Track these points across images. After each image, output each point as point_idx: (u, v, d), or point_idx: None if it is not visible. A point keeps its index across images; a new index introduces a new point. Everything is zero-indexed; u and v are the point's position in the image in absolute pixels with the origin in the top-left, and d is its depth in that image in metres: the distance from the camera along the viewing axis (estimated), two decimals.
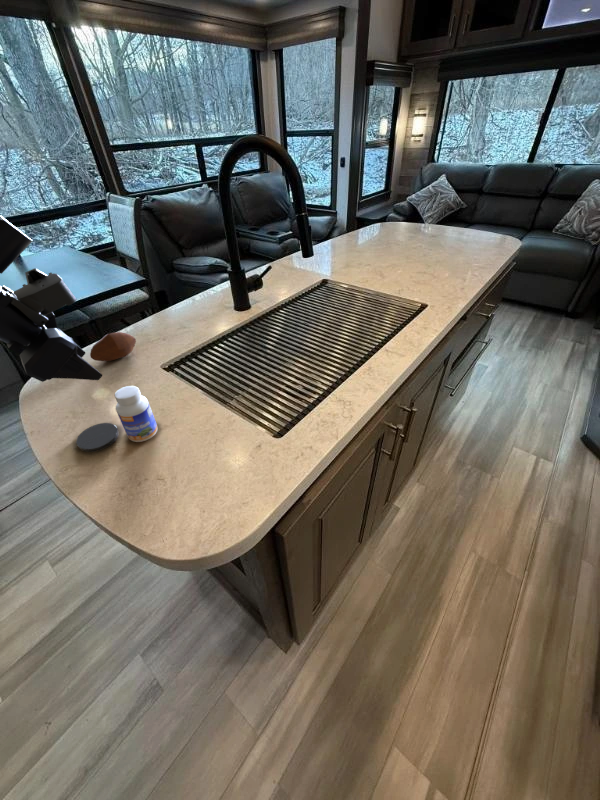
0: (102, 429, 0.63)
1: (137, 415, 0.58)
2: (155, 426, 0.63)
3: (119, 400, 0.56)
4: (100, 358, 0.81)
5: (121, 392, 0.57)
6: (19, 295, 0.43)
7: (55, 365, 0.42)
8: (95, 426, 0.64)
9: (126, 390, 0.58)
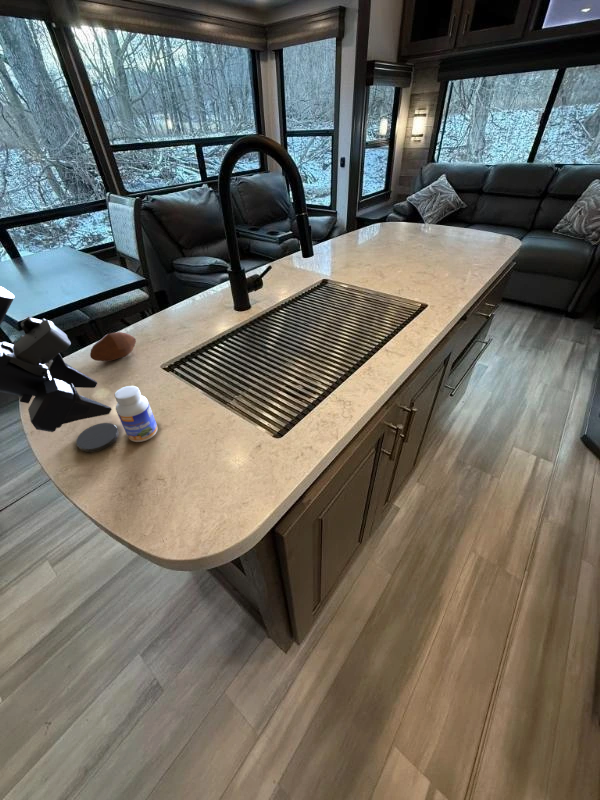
0: (102, 429, 0.63)
1: (137, 415, 0.58)
2: (155, 426, 0.63)
3: (119, 400, 0.56)
4: (100, 358, 0.81)
5: (121, 392, 0.57)
6: (17, 350, 0.44)
7: (59, 416, 0.44)
8: (95, 426, 0.64)
9: (126, 390, 0.58)
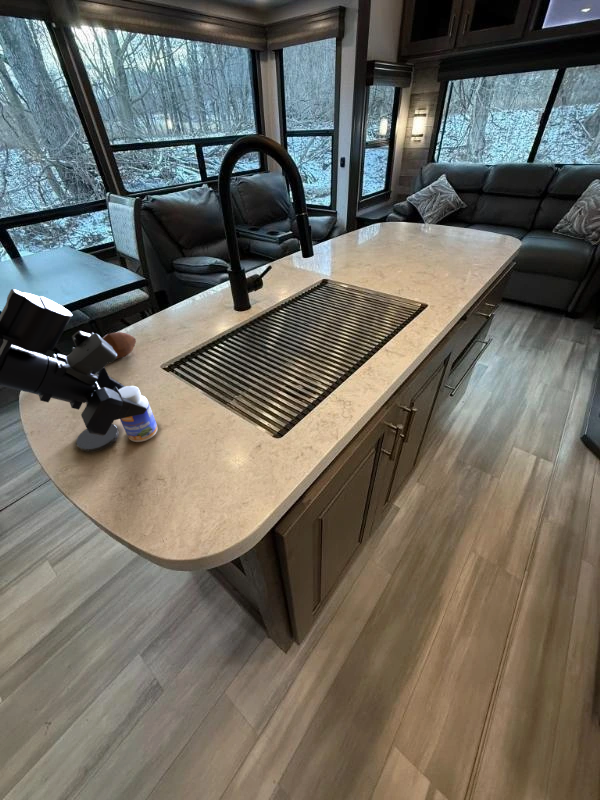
0: None
1: (137, 415, 0.58)
2: (155, 426, 0.63)
3: None
4: None
5: (121, 392, 0.57)
6: (71, 362, 0.49)
7: (110, 421, 0.48)
8: None
9: (126, 390, 0.58)
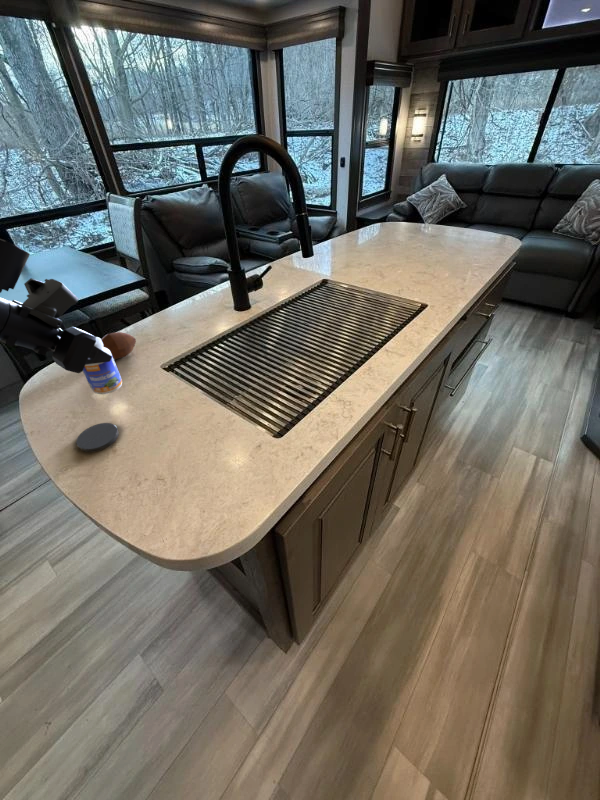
0: (102, 429, 0.63)
1: (103, 363, 0.59)
2: (120, 378, 0.64)
3: None
4: None
5: None
6: (31, 305, 0.49)
7: (85, 357, 0.50)
8: (95, 426, 0.64)
9: None
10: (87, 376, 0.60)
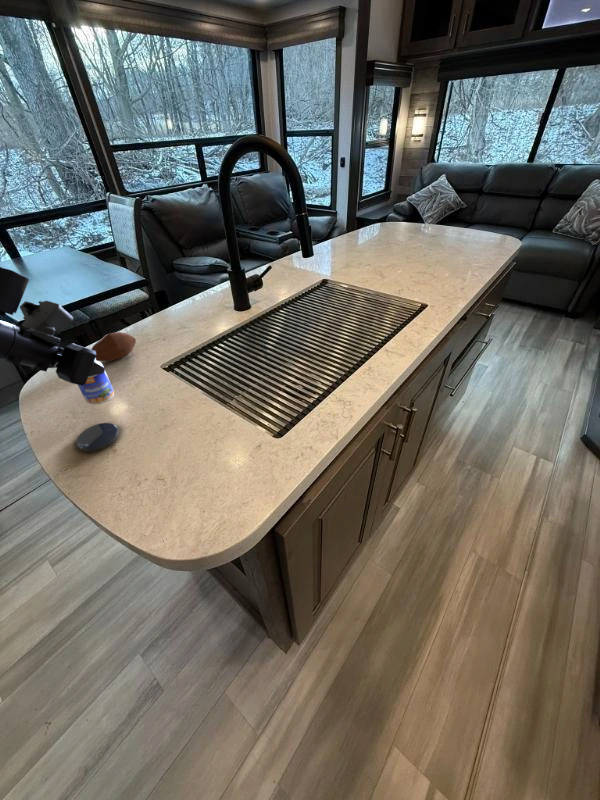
0: (102, 429, 0.63)
1: (97, 375, 0.64)
2: (112, 388, 0.69)
3: None
4: (100, 358, 0.81)
5: None
6: (31, 326, 0.53)
7: (88, 370, 0.55)
8: (95, 426, 0.64)
9: None
10: (82, 388, 0.64)
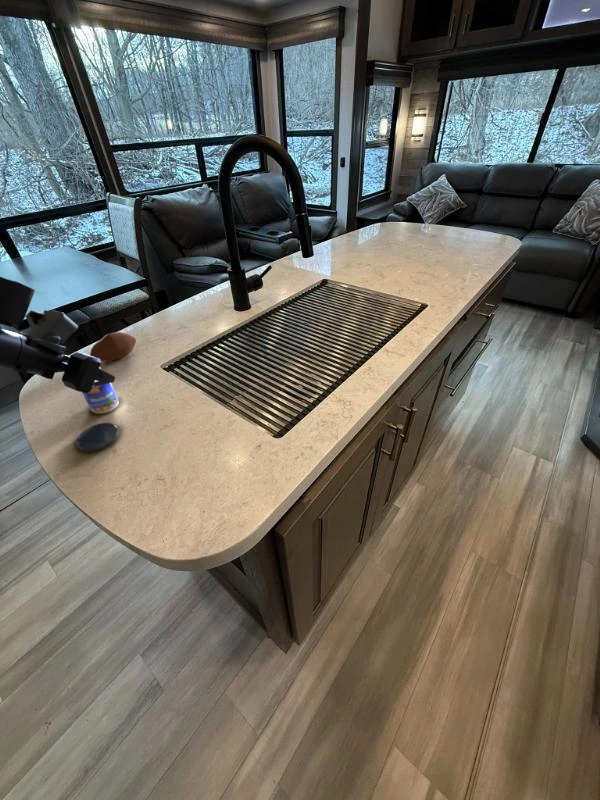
0: (102, 429, 0.63)
1: (102, 385, 0.65)
2: (116, 396, 0.70)
3: None
4: (100, 358, 0.81)
5: None
6: (37, 335, 0.55)
7: (93, 378, 0.56)
8: (95, 426, 0.64)
9: None
10: (87, 398, 0.66)
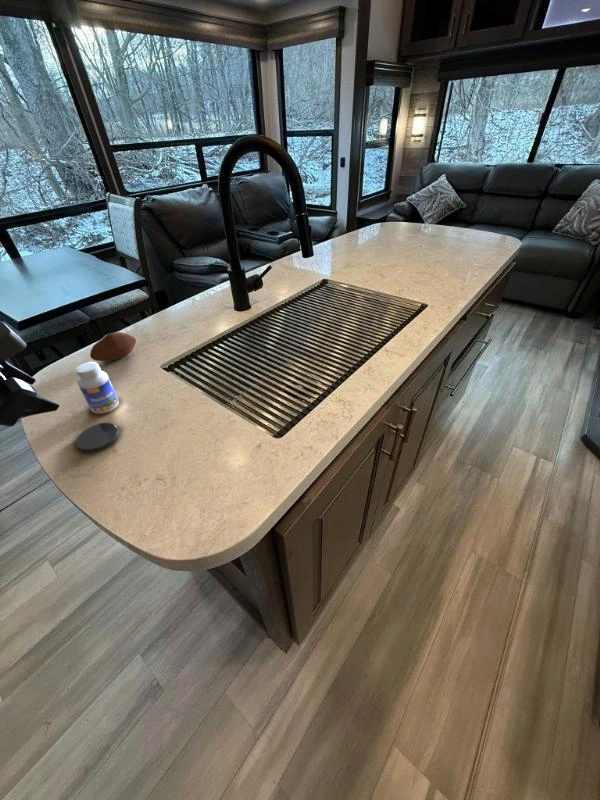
0: (102, 429, 0.63)
1: (102, 385, 0.65)
2: (116, 396, 0.70)
3: (83, 374, 0.63)
4: (100, 358, 0.81)
5: (81, 368, 0.64)
6: None
7: (20, 412, 0.48)
8: (95, 426, 0.64)
9: (85, 365, 0.64)
10: (87, 398, 0.66)
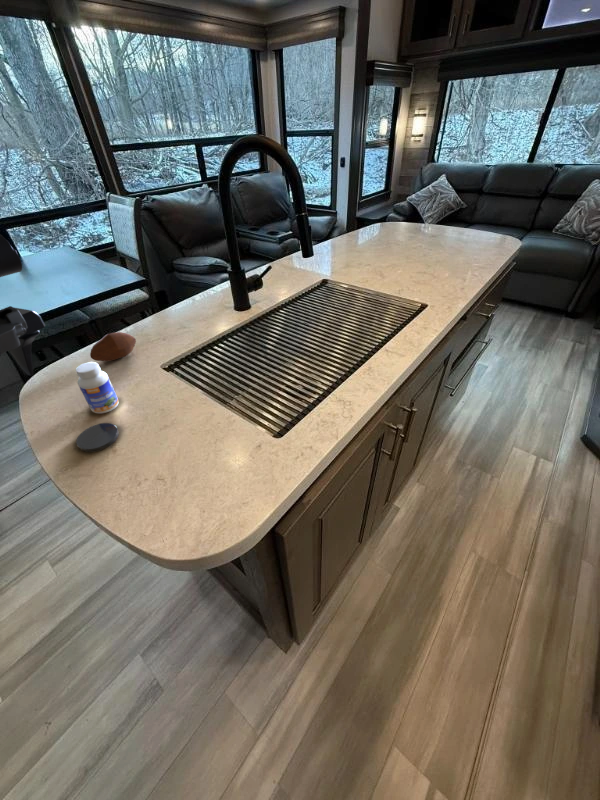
0: (102, 429, 0.63)
1: (102, 385, 0.65)
2: (116, 396, 0.70)
3: (83, 374, 0.63)
4: (100, 358, 0.81)
5: (81, 368, 0.64)
6: None
7: None
8: (95, 426, 0.64)
9: (85, 365, 0.64)
10: (87, 398, 0.66)
